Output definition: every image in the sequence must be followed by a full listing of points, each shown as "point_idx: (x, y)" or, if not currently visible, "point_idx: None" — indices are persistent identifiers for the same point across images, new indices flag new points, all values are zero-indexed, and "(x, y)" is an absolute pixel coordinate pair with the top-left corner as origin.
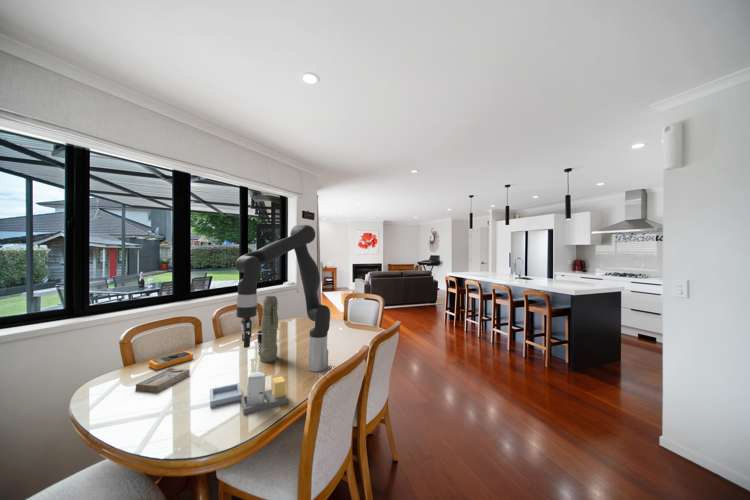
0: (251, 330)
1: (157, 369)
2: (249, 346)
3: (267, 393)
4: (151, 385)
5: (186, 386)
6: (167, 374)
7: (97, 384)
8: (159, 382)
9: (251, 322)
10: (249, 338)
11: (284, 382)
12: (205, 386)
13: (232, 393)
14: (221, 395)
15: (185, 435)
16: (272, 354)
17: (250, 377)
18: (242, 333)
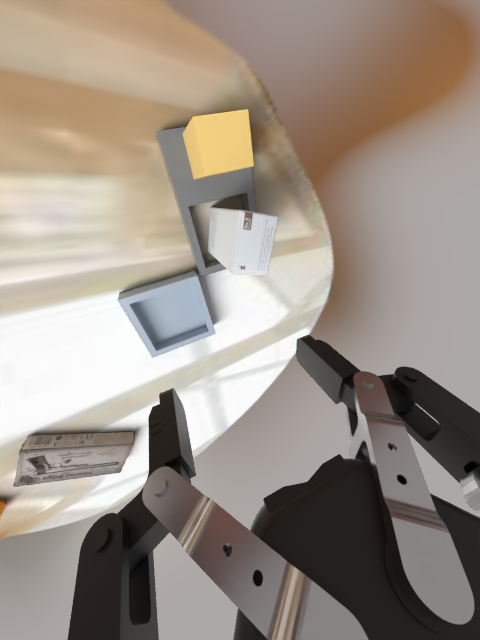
0: (402, 426)
1: (3, 501)
2: (309, 337)
3: (197, 196)
4: (127, 452)
5: (103, 407)
6: (63, 466)
7: (96, 508)
8: (113, 451)
9: (459, 571)
10: (350, 374)
11: (246, 114)
12: (103, 374)
13: (158, 302)
14: (167, 323)
15: (279, 329)
16: None
17: (268, 267)
18: (194, 468)
